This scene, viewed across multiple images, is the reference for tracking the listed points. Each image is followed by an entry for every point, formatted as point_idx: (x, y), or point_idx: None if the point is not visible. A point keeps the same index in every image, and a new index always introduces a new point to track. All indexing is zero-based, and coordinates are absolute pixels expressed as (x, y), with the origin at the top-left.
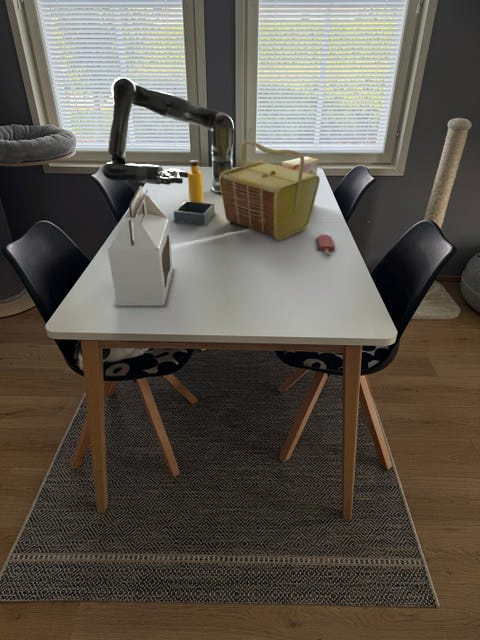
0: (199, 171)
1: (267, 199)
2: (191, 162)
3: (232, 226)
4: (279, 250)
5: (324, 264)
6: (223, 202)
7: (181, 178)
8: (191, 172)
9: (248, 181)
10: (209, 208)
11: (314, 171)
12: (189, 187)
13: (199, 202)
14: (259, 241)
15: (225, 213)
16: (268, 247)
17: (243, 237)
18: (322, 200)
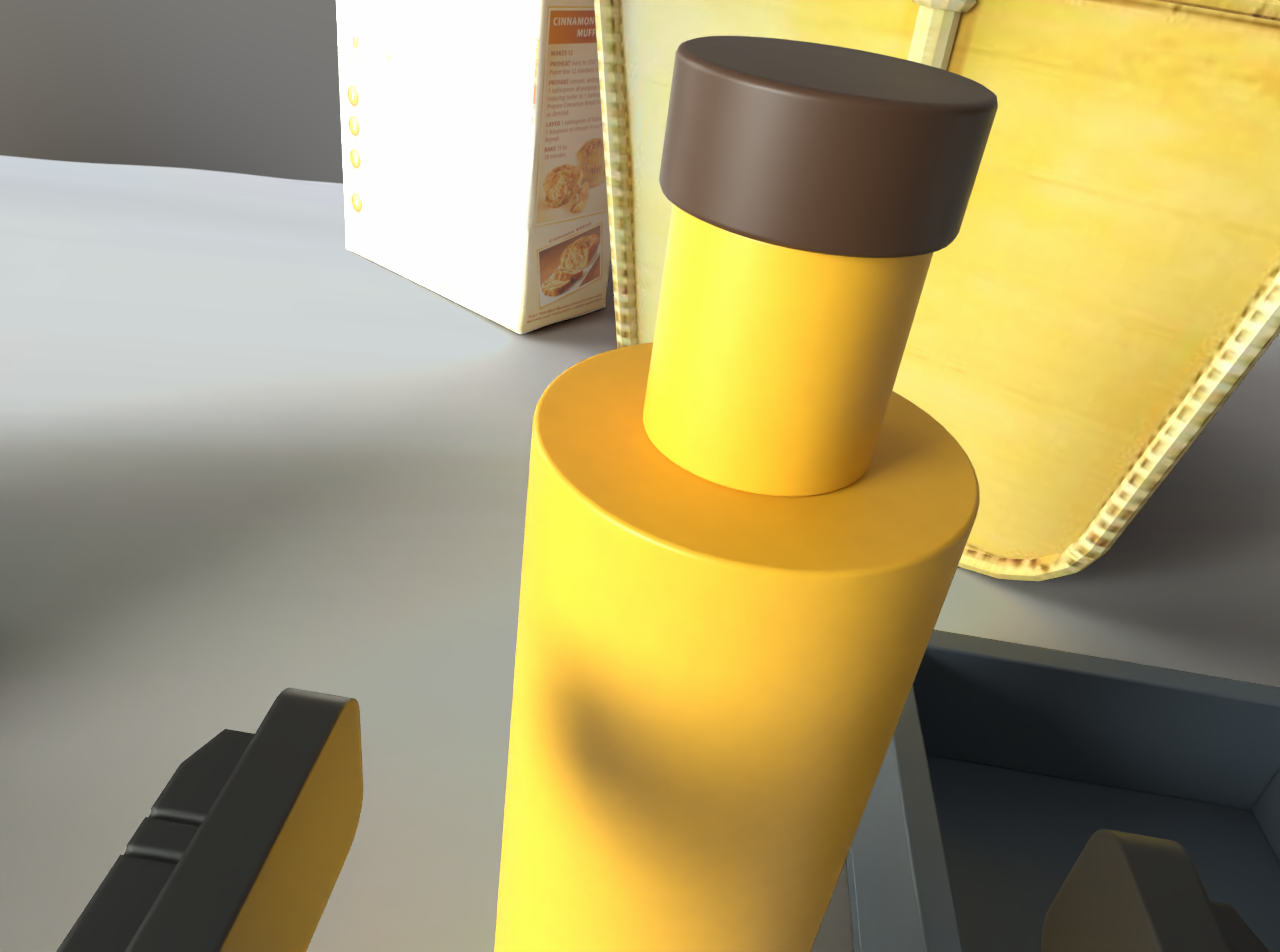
0: (637, 370)
1: None
2: (984, 130)
3: (1067, 576)
4: (1245, 392)
5: None
6: (1216, 411)
7: (1173, 842)
8: (830, 489)
9: None
10: (1082, 659)
11: None
12: (832, 859)
13: (915, 809)
14: (1209, 450)
15: (1134, 515)
16: (1254, 423)
17: (1226, 516)
18: (335, 200)
